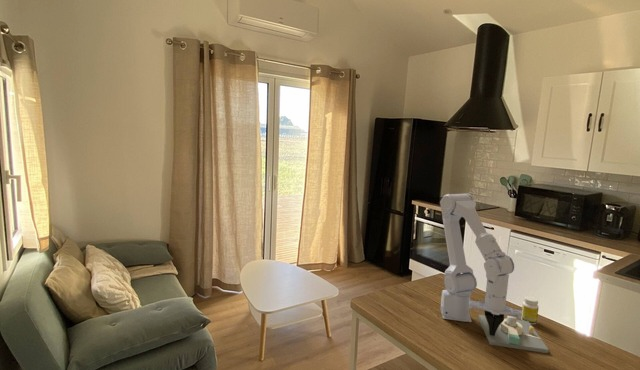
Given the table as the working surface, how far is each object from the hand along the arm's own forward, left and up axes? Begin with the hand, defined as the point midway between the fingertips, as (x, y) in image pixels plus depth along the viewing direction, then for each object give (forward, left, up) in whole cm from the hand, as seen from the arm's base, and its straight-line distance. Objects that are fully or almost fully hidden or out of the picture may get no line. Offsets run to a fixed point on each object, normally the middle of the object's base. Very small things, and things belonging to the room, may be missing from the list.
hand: (491, 333), depth 105 cm
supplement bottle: (+16, +16, -2) cm, 22 cm away
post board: (+7, +5, -2) cm, 9 cm away
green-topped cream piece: (+6, +2, 0) cm, 7 cm away
